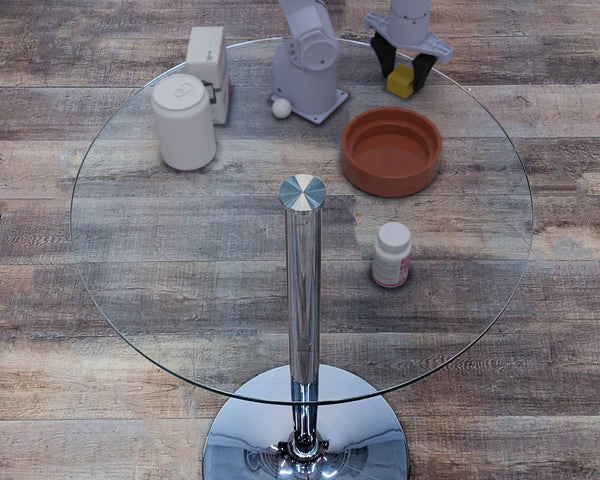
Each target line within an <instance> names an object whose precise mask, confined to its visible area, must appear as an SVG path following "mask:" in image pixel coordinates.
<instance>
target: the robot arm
mask: <svg viewBox="0 0 600 480" xmlns="http://www.w3.org/2000/svg"><path fill="white" fill-rule="evenodd" d="M432 1H433V0H390V9H389V15H388V14H381V13H377V12H375V11H372V10H370V11H369V12H368V13H367V14H366V15H365V16H363V29H365V30H366V31H370V30H374V35H373V37H372V38H370V41H369V46H370V48H371V49H372V50H373V52H374V53H375V55H376V58H377V61H378V62H379V66H380V70H381V74H382V77H383V78H384V79H388V75H389V74H390V73H392V72H393V71H394V70H395V67H396V58H397V49H399V50H404V51H408V52H415V53H418V54H417V55H416V56H415V57H414V58H413V59H412V60H411V66H412V69H413V71H414V81H413V93H416V94H417V93H419V92H420V91H421V90H422V89H423V88H424V87H425V84H426V81H427V78H428V76H429V74H430V73H431V71H432V68H433V67H434V66H435V64H436V63H437V61H438V60H439V64H441V65H443V66H446V65H447V64H448V63H450V62H451V60H452V59H453V55H454V50H455V49H454V47H453V46H451V45H449V44H447V43H445V42H444V41H443V40H442V39H441V38H440V37H438V36H437V35H436V34H435V33H434V32H433V31H432V30H430V29H429V25H430V16H431V9H432ZM277 3H278V5H279V7H280V8H281V10H282V13H283V14H284V16H285V19H286V25H287V27H288V29H289V32H290V36H291V38H288V39H285V40H284V41H283V42H282V43H281V44H280V45H279V46H278V48H277V50H276V51H275V54H274V57H273V60H272V81H273V95H271V97H270V100H271V101H272V102H273V103H274V102H275V101H276V100H278V99H281V98H282V99H286V100H287V101H288V102H290V104H291V108H292V109H291V113H295V114H296V115H297V116H300V117H302V118H304V119H305V120H308V121H310V122H312V123H314V124H315V125H320V124H322V123H323V122H324V121H325V120H326V119H327V118H328V117H329V116H330V115H331V114H333V112H335V110H336V109H338V107H340V106H341V104H343V103H344V102H345V101H346V100H347V99H348V98H349V93H347V92H346V91H344V90H341V89H340V88H338V60H340V56H341V52H342V51H341V45H340V42H339V41H338V39H337V37H336V34H335V31H334V27H333V23H332V21H331V18H330V13H329V8H328V6H327V4H325V2H324V1H322V0H277Z"/></svg>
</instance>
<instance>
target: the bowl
mask: <svg viewBox="0 0 600 480" xmlns="http://www.w3.org/2000/svg"><path fill="white" fill-rule="evenodd" d="M442 138H443V137H442V134H441V132H440V131H439V129H438V127H437V125H436V124H435V123H434V122H432V121H431V120H430V119H429V117H427V116H426V115H424V114H421V113H420V112H417V111H415V110H413V109H409V108H404V107H401V106H380V107H375V108H371V109H367V110H365V111H363V112H361V113H360V114H357V115H355V116H354V117H353V118H352V119H351V120H350V121H349V122H348V123H346V126H345V128H344V129H343V132H342V134H341V149H340V150H341V151H340V165H341V168H342V170H343V173H344V175H345V177H346V178H347V179H348V180H349V181H350V182H351V183H352V184H353V185H354V186H355V187H357V188H359V189H361V190H362V191H364V192H366V193H368V194H372V195H374V196H375V195H376V196H379V197H383V198H400V197H404V196H409V195H413V194H416V193H418V192H420V191H421V190H423V189H425V188H427V187H428V186H429V185H430V183H432V181H434V180H435V178H436V177H437V175H438V171H439V168H440V166H441V165H440V164H441V158H442V154H443V153H442V152H443V139H442Z"/></svg>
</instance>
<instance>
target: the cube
mask: <svg viewBox="0 0 600 480" xmlns="http://www.w3.org/2000/svg"><path fill="white" fill-rule="evenodd" d="M413 81H414V71H413V68H411V67H409V66H407V65H404V64H402V63H400V64H399V65H398V66H396V68H394V71H393V72H392V73H390V74H389V75H388V77H387V82H386V91H388V92H390V93H392V94H394V95H396V96H399V97H400V98H403V99H405V100H407V99H408V98H409V97H410V96H411V95H412V93H414V91H413Z"/></svg>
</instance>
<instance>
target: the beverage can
mask: <svg viewBox="0 0 600 480" xmlns="http://www.w3.org/2000/svg"><path fill="white" fill-rule="evenodd" d="M150 106H151V111H152V117H153V120H154V126H155V130H156V135H157V139H158V144H159V145H158V146H159V149H160V154H161V158H162V160H163V161H164V163H165V164H167V165H168V166H169V167H171V168H173V169H175V170H179V171H194V170H198V169H201V168H202V167H205V166H207V165H208V164H209V163H211V161H212V160H213V159H214V157H215V155H216V152H217V145H216V143H217V142H216V135H215V129H214V124H213V121H212V114H211V107H210V100H209V94H208V91H207V89H206V88H205V87H204V85H203V83H202V82H201V81H200V80H199V79H198V78H196V77H194V76H191V75H187V73H176V74H171V75H168V76H166V77H164V78H162V79H161V80H159V81H158V82H157V83H156V84H155V85H154V87H153V89H152V93H151V96H150Z"/></svg>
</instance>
